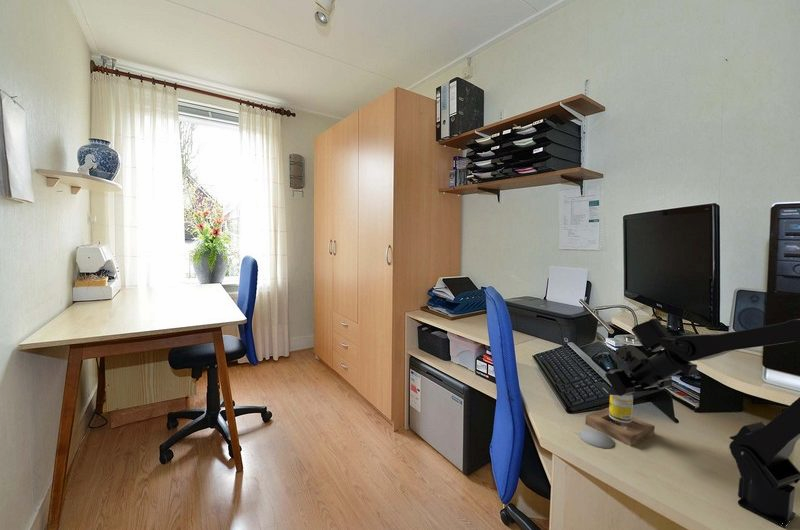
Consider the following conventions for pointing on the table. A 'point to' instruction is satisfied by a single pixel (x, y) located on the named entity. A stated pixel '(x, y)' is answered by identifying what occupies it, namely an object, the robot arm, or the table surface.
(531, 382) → the table surface
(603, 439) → the grey oval disc
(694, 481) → the table surface
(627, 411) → the supplement bottle
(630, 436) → the holder block
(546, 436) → the table surface
